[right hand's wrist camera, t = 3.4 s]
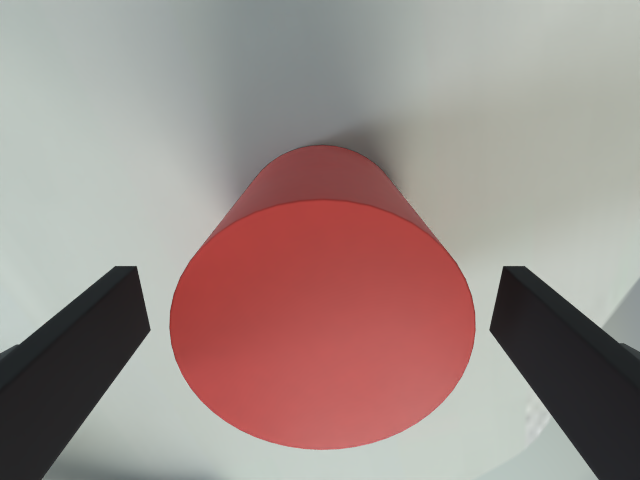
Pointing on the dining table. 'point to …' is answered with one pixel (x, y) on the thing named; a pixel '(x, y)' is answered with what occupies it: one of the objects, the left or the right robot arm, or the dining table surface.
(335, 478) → the dining table surface
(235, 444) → the dining table surface
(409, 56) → the dining table surface
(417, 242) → the canister
